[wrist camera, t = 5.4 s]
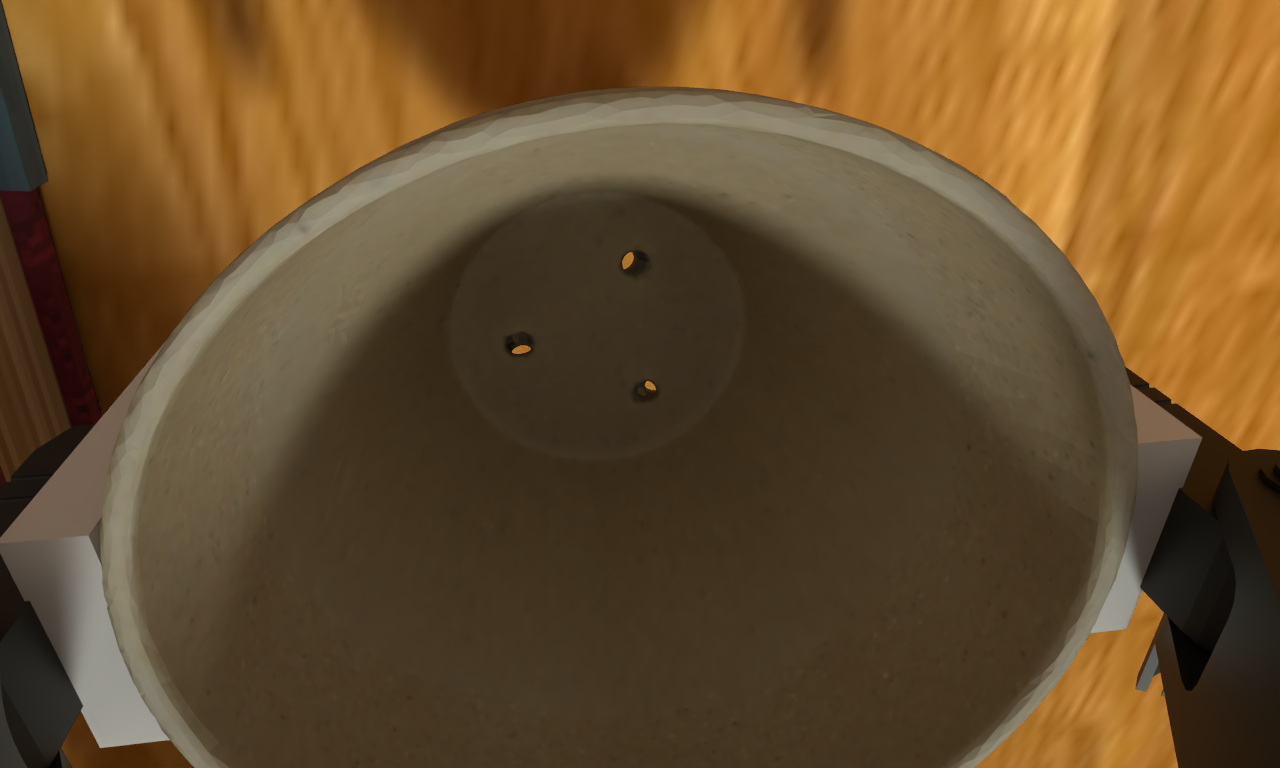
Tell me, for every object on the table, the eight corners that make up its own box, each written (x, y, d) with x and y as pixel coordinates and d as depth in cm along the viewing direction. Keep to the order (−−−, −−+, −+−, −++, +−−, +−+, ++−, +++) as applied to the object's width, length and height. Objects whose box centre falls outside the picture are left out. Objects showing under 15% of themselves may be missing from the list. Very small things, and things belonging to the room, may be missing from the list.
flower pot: (963, 99, 13) (1361, 251, 7) (766, 567, 18) (903, 913, 11) (314, -80, 11) (45, -90, 5) (276, 513, 15) (115, 911, 9)
